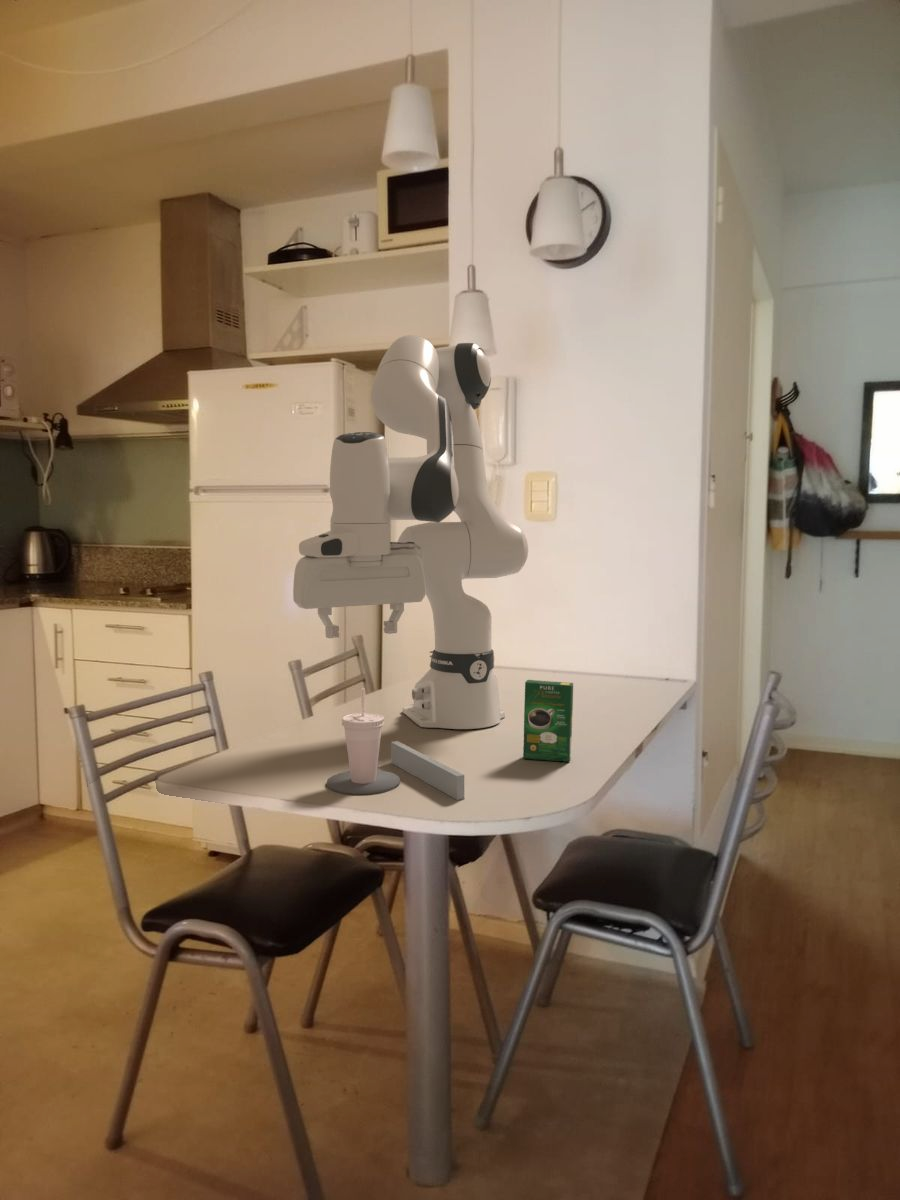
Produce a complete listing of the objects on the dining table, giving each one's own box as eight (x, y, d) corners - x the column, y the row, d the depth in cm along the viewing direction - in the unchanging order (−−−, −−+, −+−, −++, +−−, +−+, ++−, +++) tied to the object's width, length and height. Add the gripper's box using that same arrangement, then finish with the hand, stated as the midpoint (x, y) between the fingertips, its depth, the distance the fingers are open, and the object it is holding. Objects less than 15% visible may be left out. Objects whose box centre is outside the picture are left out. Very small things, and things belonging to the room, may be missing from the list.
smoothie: (385, 773, 140) (385, 685, 138) (383, 786, 134) (382, 693, 132) (344, 773, 140) (343, 685, 138) (340, 786, 133) (339, 693, 132)
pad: (316, 779, 139) (316, 776, 139) (381, 769, 144) (381, 766, 144) (343, 799, 129) (343, 795, 129) (412, 787, 135) (412, 784, 135)
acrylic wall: (391, 762, 148) (391, 741, 147) (397, 761, 148) (397, 741, 148) (457, 800, 129) (457, 776, 128) (464, 798, 129) (464, 774, 129)
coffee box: (573, 758, 150) (574, 680, 149) (571, 763, 147) (572, 684, 146) (525, 755, 152) (526, 678, 151) (522, 759, 149) (522, 681, 148)
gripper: (413, 540, 141) (414, 628, 142) (288, 543, 131) (290, 637, 132) (432, 541, 135) (433, 632, 137) (303, 545, 125) (305, 643, 127)
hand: (361, 635), depth 135 cm, fingers open, 8 cm apart
